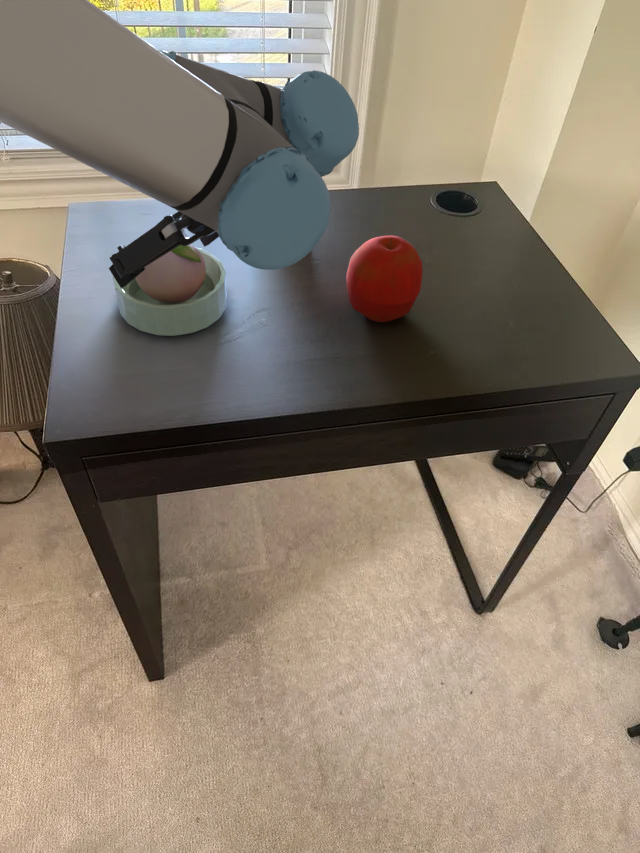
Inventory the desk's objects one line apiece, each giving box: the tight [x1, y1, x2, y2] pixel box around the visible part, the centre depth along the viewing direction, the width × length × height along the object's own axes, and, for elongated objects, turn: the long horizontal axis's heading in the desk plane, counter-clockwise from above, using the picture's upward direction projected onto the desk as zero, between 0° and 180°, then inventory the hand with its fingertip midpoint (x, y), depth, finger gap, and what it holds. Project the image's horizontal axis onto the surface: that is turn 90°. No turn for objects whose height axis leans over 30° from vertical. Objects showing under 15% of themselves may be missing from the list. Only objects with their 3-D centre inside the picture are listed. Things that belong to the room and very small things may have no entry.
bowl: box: [112, 247, 228, 337], centre depth 85 cm, size 14×14×5 cm
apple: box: [345, 235, 424, 323], centre depth 85 cm, size 10×10×12 cm
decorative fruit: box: [135, 244, 206, 303], centre depth 83 cm, size 9×8×10 cm
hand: (160, 256), depth 82 cm, fingers open, 13 cm apart
